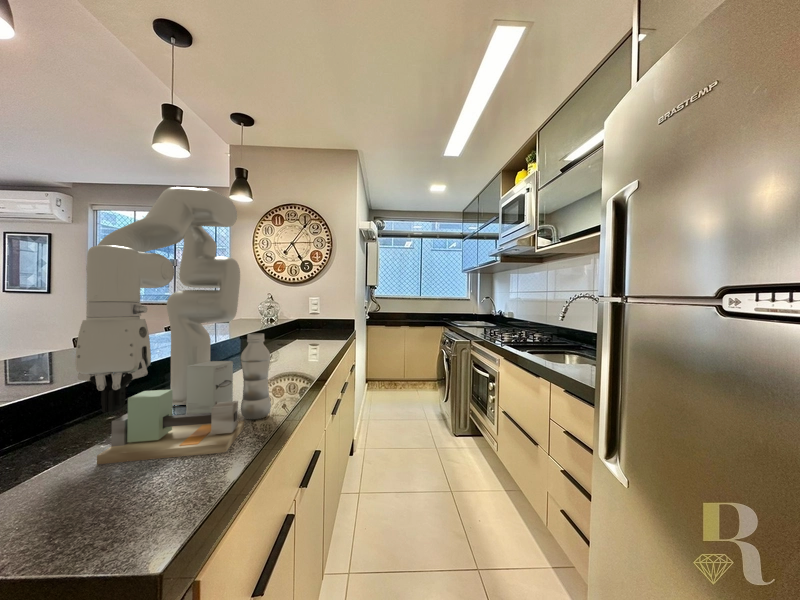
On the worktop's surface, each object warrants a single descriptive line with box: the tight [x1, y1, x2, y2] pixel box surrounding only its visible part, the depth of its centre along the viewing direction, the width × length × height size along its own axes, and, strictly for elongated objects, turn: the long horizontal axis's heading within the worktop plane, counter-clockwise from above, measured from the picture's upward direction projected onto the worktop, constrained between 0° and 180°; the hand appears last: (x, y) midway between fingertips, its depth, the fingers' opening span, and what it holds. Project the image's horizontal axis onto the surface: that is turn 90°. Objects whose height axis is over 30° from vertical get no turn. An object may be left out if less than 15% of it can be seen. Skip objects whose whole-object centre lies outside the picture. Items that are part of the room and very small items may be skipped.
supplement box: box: [185, 360, 234, 415], centre depth 79 cm, size 7×7×13 cm
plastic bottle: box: [240, 333, 272, 420], centre depth 75 cm, size 6×7×20 cm
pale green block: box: [127, 389, 173, 442], centre depth 60 cm, size 5×5×8 cm
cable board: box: [96, 400, 245, 465], centre depth 61 cm, size 12×20×7 cm, turn 102°
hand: (113, 409), depth 59 cm, fingers closed
